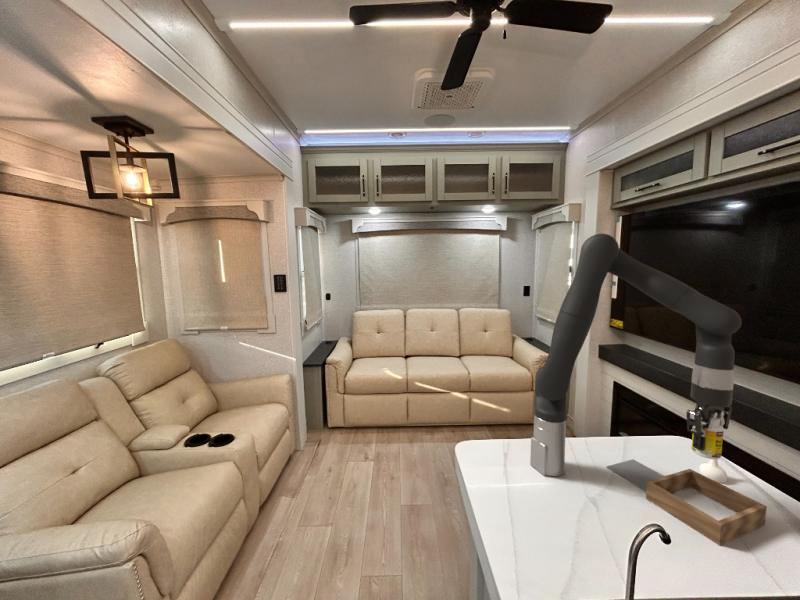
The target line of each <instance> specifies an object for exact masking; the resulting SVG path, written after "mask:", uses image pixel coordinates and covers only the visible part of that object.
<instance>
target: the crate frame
mask: <svg viewBox="0 0 800 600" xmlns="http://www.w3.org/2000/svg"><path fill="white" fill-rule="evenodd" d="M663 476H664V477H661V478H657V479H654V480H651V481H647V490H646V491H645V492H646V494H645V499H646V500H647V501H649V502H651V503H652V504H653V505H655V506H657V507H658V508H660V509H661V510H663V511H665V512H667V514H669V515H671V517H672V516H673V517H674V518H675V519H677V520H678V521H681V522H682V523H684V524H685V525H687V526H688V527H690V528H691V529H693V530H695V531H696V532H698V533H699V534H701V535H702V536H704V537H706V538H707V539H708V540H711V541H712V542H713V543H715V544H717V545H718V546H721V545H723V544H725V543H728V542H731V541H733V540H735V539H737V538H739V537H742V536H744V535H746V534H748V533H750V532H753V531H755V530H759V529H760V528H762V527H764V526H766V515H767V506H766V505H765V504H763V503H760V502H758V501H756V500H754V499H752V498H750V497H749V496H746V495H744V494H742V493H740V492H738V491H736V490H734V489H732V488H730V487H728V486H726V485H723V483H719V482H716V481H714V480H712V479H710V478H708V477H706V476H704V475H701V474H700V473H699V472H698V471H696V470H694V469H691V468H687V469H684V470H680V471H677V472H674V473H671V474H668V475H663ZM690 488H691V489H692V490H694V491H696V492H697V493H699V494H701V495H704V496H705V497H707V498H708V499H711V500H713V501H714V502H716V503H718V504H720V505H721V506H724V507H726V508H727V509H729V510H731V511H733V512H735V513H734V514H731V515H729V516H727V517H725V518H722V519H719V520H717V519H716V518H715V517H712V516H711V515H709V514H708V513H705V512H704V511H703V510H700V509H699V508H697V507H695V506H694V505H692V504H690V503H688V502H687V501H685V500H683V499H681V498H680V497H679V496H677V495H675V494H676V493H679V492H680V491H681V492H682V491H684V490H687V489H690Z"/></svg>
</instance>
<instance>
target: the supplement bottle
mask: <svg viewBox="0 0 800 600" xmlns="http://www.w3.org/2000/svg"><path fill="white" fill-rule="evenodd" d="M701 423H703V424H707V423H705V422H702V421H701ZM702 430H703V427H702ZM724 430H725V429H723V427H722V426H721V425H720V418H718V417H717V418H716V419H715V420H714V422H713V425H712V428H711V429H708V431H707V434H706V436H705V437H706V443H705V450H703V451H701V450H698V449H696V448H694V447H693V436H694V434H693V433H692V436H691V437H692V438H691V451H692V452H693V453H694V454H696V455H698V456H700V457H702V458H704V459H709V460H710V459H717V460H720V459H721V458H722V452H723V441H724V439H723V438H724Z"/></svg>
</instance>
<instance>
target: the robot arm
mask: <svg viewBox="0 0 800 600" xmlns="http://www.w3.org/2000/svg"><path fill="white" fill-rule="evenodd" d="M608 273H609V274H612V275H614V276H616V277H618V278H619V279H621V280H623V281H624V282H626V283H628V284H630V285H631V286H633V287H634V288H636V289H637V290H639V291H640V292H642V293H644V294H645V295H646V296H648V297H649V298H651V299H653V300H655V301H656V302H658V303H660V304H661V305H663V306H665V308H668V309H670V310H672V311H673V312H676V313H678V314H680V315H682V316H683V317H685V318H686V319H688V320H689V321H691V322H692V323H694V324H695V339H696V347H695V353H694V365H693V368H692V373H691V382H690V383H691V387H690V398H691V399H692V400H694V401H695V402H696V405H695V407H694V410H690V409H687V410H686V428H687V429H686V431H687V432H688V433H691V434H692V435H693V434H694V436H693V447H694V448H696V449H698V450H701V451H703V450H705V443H706V437H705V436H706V434H707V431H708V429H711V428H712V425H713V422H714V420H715V419H716V418H717V417H718V418H720V425H721V426H722V427H723V429H724V430H728V428H729V426H730V420H731V414H732V409H733V407H732V404H733V394H734V384H735V373H734V367H735V355H736V354H735V349H734V347H733V345H732V334H734V333H736V332H738V331H739V330H740V328H741V326H742V318H741V316H740V314H739V313H738V312H737V311H736V310H734V309H732V308H730V307H728V306H727V305H726V304H723V303H721V302H719V301H717V300H715V299H712V298H710V297H709V296H706V295H705V294H702V293H701V292H699V291H697V290H696V289H694V288H693V287H692V286H689V285H688V284H686V283H684V282H682V281H681V280H679V279H677V278H675V277H673V276H671V275H669V274H667V273H665V272H663V271H661V270H658V269H655V268H653V267H651V266H649V265H646V264H645V263H642V262H641V261H639V260H637V259H635V258H633V257H632V256H630V255H629V254H628V253H626V252H625V251H623V250H622V249H621V248H620V245H619V243H618V241H617V240H616V239H615V238H614V237H613V236H612V235H610V234H607V233H597V234H594V235H591V236H590V237H588V238H587V239H586V240H585V241H584V242H583V243H582V245H581V248H580V253H579V258H578V262H577V265H576V270H575V274H574V278H573V279H572V282H571V284H570V286H569V288H568V291H567V292H566V295H565V297H564V299H563V301H562V303H561V305H560V309H559V310H558V314H557V316H556V320H555V323H554V326H553V331H552V335H551V342H550V348H549V353H548V355H547V358H546V360H545V362H544V363H543V364H544V365H543V366H541V367H539V368H538V369H537V371H536V373H535V378H534V402H533V403H534V415H533V419H534V420H533V436H532V437H531V438H530V457H529V459H530V461H529V464H530V466H531V467H533V469H534V470H536V471H537V472H539V473H540V474H541V475H543V476H544V477H546V476H548V477H549V476H550V477H559V476H562V475H563V474H565V461H566V460H565V458H566V433H567V432H566V430H567V392H568V391H569V387H570V382H571V377H572V375H573V374H572V373H573V370H574V366H575V363H576V360H577V358H578V356H579V354H580V352H581V350H582V348H583V346H584V344H585V341H586V338H587V336H588V334H589V332H590V330H591V326H592V324H593V321H594V319H595V315H596V312H597V309H598V304H599V300H600V294H601V291H602V286H603V284H604V282H605V279H606V277H607V275H608ZM701 421H702V422H705V423H707V424H703V423H701ZM702 427H703V430H702Z"/></svg>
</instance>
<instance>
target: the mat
mask: <svg viewBox="0 0 800 600" xmlns="http://www.w3.org/2000/svg"><path fill="white" fill-rule="evenodd" d="M606 468H607V469H608V470H610V471H612V472H614V473H615V474H616V475H619V476H620V477H622V478H623V479H625V480H626V481H628V482H630V483H631V484H632V485H635V486H636V487H637V488H640V489H641V490H642V491H644V492H646V490H647V481H651V480H654V479H657V478H661V477H664V476H665V475H663V474H661V473H659V472H658V471H656V470H654V469H652V468H650V467H649V466H646V465H645V464H643V463H641V462H639V461H637V460H636V459H633V458H632V459H628V460H625V461H622V462H618V463H613V464H610V465H607V466H606Z"/></svg>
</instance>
